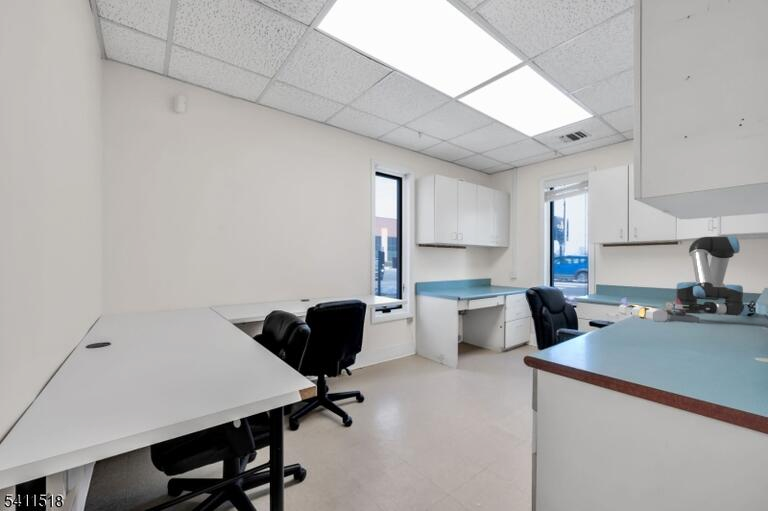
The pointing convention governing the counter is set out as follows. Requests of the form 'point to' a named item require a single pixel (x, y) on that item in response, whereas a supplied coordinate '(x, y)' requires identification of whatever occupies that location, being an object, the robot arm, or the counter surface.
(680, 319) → the parts bin
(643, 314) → the segmented white rod
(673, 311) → the brake caliper
